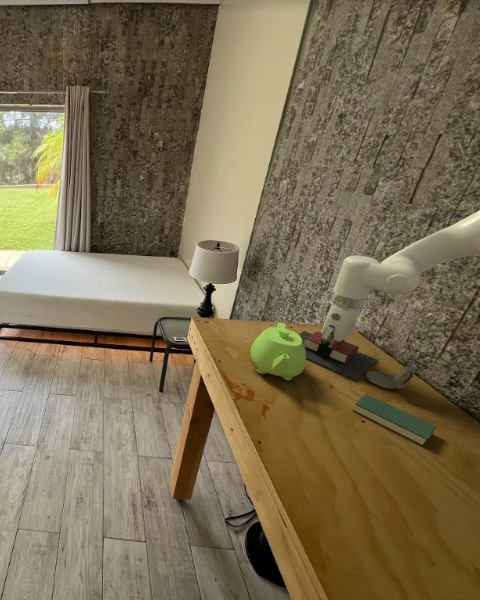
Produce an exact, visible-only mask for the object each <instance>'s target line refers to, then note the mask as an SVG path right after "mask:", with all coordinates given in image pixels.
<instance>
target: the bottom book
mask: <svg viewBox="0 0 480 600" xmlns="http://www.w3.org/2000/svg"><path fill="white" fill-rule="evenodd" d="M352 412H354V413H356V414H358V415H360V416H361V417H364V418H366V419H368V420H370V421H372V422H374V423H375V424H378V425H379V426H382V427H384V428H385V429H388V430H390V431H392V432H393V433H396V434H398V435H399V436H401V437H403V438H405V439H407V440H408V441H411V442H412V443H415V444H417V445H419V446H421V447H423V448H425V447H426V445H427V443H428V442H429V440H430V438H431V437H432V435H433V433H434V432H435V431H436V429H437V427H438V426H437V425H435V424H433V423H431V422H429V421H427V420H424V419H423V418H420V417H417V416H416V415H413V414H411V413H409V412H407V411H405V410H403V409H400V408H398V407H396V406H394V405H391V404H389V403H387V402H385V401H383V400H381V399H378V398H377V397H374V396H372V395H370V394H368V393H365V394H364V395H363V396H362V397H361V398H360V399H358V401H357V402H356V403H355V404H354V406H353V409H352Z"/></svg>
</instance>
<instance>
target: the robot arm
mask: <svg viewBox="0 0 480 600" xmlns="http://www.w3.org/2000/svg"><path fill="white" fill-rule="evenodd" d="M475 256H476V257H477V256H480V209H479V210H478V211H475V212H474V213H472V214H470V215H468V216H466V217H465V218H463V219H461V220H458V221H457V222H455V223H453V224H451V225H449V226H447V227H445V228H442V229H440V230H439V231H436V232H435V233H432V234H429V235H428V236H425V237H423V238H421V239H419V240H416V241H415V242H413V243H411V244H409V245H408V246H406V247H404V248H402V249H400V250H398V251H396V252H395V253H393V254H392V255H390V256H388V257H386V258H385V259H384V260H383V261H382V262H379V261H378V260H377V259H376V258H373V257H371V256H363V255H349V256H347V257H345V258H344V259H343V261H342V264H341V267H340V269H339V273H338V276H337V278H336V282H335V284H334V288H333V291H332V293H331V296H330V298H329V304H330V305H331V307H330V309H329V311H328V313H327V316H326V318H325V321H324V324H323V327H322V328H321V332H320V333H321V334H322V338H321V342H320V344H319V347H318V350H317V353H316V355H317V356H319V357H322V358H324V359H327V360H328V359H329V357H330V354H331V352H332V349H333V348H331V347H332V346H333V344H334V342H335V340H337V341H338V342H340V341H345V340H346V339H347V338H348V337H349V336H350V335H352V334H353V333H354V330H355V327H356V324H357V321H358V318H359V315H360V311H362V310H363V309H364V307H365V305H366V302H367V299H368V297H369V295H370V292H371V289H372V290H376V291H379V292H382V293H384V294H389V295H396V296H397V295H398V296H399V295H406V294H409V293H412V292H413V291H414V290H416V289H417V287H419V286H418V285H419V283H420V276H419V274H421V273H423V272H426V271H427V270H429V269H431V268H434V267H435V266H436V267H437V266H438V265H439V264H442V263H445V262H449V261H451V260H454V259H458V258H464V257H475ZM330 336H331V337H330ZM332 337H334V338H332ZM328 339H331V340H332V341H331V343H330V342H329V341H328Z"/></svg>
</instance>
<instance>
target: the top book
mask: <svg viewBox="0 0 480 600" xmlns="http://www.w3.org/2000/svg"><path fill="white" fill-rule="evenodd" d="M321 333H322V332H320V331H315V332H313V333H311V334H312V335H310V336H309V337H307V338H306V340H305V343H304V347H305V348H308V349H310V350H313V351H315V352H317V350H318V347H319V344H320V342H321V338H322V334H321ZM331 336H332V335H331ZM331 336H330V337H331ZM332 338H334V337H332ZM328 341H329V342H330V343H331V341H332V340H331V339H328ZM331 348H333V349H332V352H331V354H330V358H332V359H334V360H337V361H339V362H342V363H344V364H346V363H347V362H348V361H349V360H351V359H352V358H353V357H354V356H355V355H356V353H357V352H359V349H360V346H359V345H355V344H353V343H350V342H347V341H345V340H344V341H340V342H338V341H337V340H335V342H334V344H333V346H332V347H331Z"/></svg>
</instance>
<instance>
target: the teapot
mask: <svg viewBox="0 0 480 600" xmlns="http://www.w3.org/2000/svg"><path fill="white" fill-rule="evenodd" d="M286 326H287V324H286V323H285V322H280V321H279V322H277V325H276V326H269V327H267V328H266V329H264V330H263V331H262V332H261V333H260V334H259V335H258V336H257V337H256V338H255V340H254V341H253V343H252V345H251V347H250V351H249V355H250V358H251V360H252V363H253V364H254V366H255V367H256V372H257V373H259V374H261V375H265V374H271V375H273V376H278V377H281V378H282V379H284V380H286V381H292V380H293V378H294V377H296V376H299V375H301V374H302V372H304V370H305V368H306V363H307V360H306V352H305V347H304V344H303V341H302V339H301V337H300V336H299V333H297V332H296V331H294V330H290V329H288V328H286Z"/></svg>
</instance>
